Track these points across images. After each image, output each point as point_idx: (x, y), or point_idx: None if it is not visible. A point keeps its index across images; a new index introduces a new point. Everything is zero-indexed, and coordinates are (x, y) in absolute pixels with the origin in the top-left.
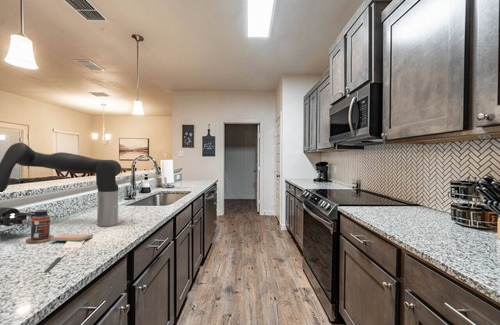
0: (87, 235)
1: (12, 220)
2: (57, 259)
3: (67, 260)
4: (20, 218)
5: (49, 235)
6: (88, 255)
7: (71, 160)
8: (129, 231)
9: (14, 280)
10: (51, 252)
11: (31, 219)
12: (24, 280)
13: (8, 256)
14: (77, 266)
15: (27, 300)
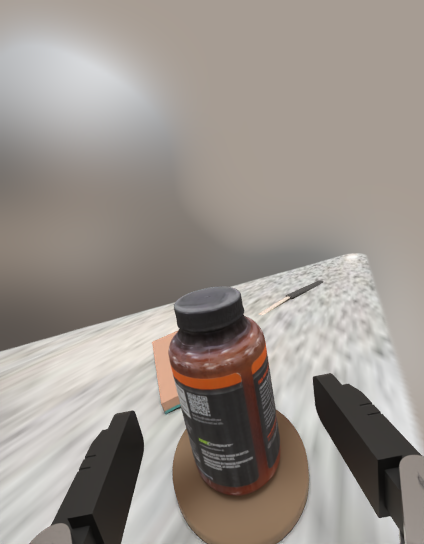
0: (173, 334)
1: (409, 453)
2: (294, 292)
3: (282, 293)
4: (325, 381)
5: (177, 468)
6: (251, 294)
7: None
8: (89, 340)
9: (360, 279)
10: (282, 324)
11: (263, 351)
12: (348, 277)
13: (382, 352)
14: (283, 280)
15: (348, 260)
